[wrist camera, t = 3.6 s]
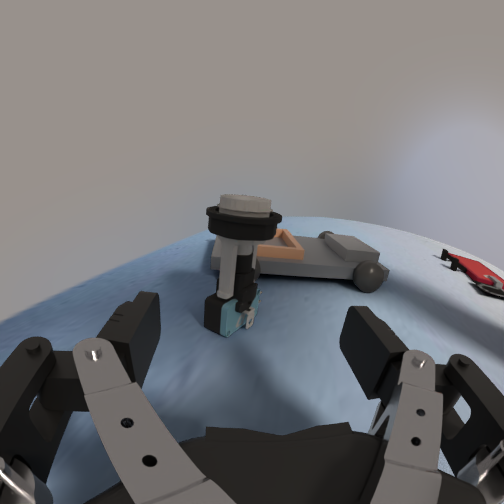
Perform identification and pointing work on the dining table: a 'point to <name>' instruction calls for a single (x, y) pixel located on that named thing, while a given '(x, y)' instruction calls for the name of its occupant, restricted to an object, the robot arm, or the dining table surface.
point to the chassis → (316, 258)
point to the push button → (238, 259)
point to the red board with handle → (477, 273)
